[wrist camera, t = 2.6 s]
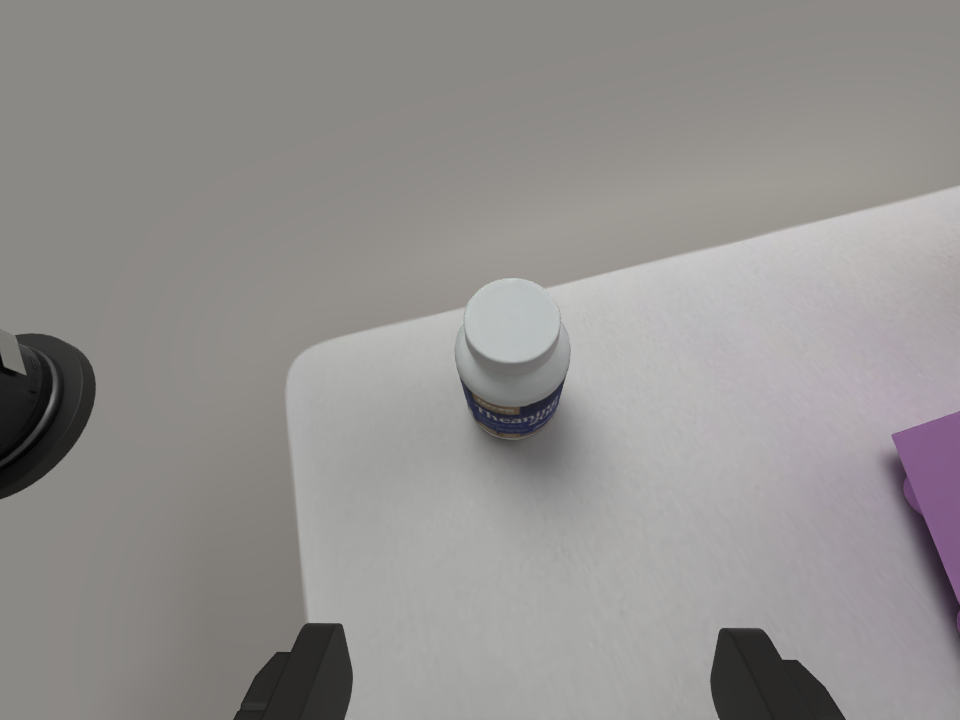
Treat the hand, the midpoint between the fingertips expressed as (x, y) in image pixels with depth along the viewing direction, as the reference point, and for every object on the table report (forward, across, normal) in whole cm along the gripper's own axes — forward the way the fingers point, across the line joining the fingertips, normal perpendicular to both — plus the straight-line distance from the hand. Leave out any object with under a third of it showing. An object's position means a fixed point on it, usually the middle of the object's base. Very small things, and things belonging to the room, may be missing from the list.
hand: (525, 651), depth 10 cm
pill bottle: (+18, 0, +3) cm, 18 cm away
